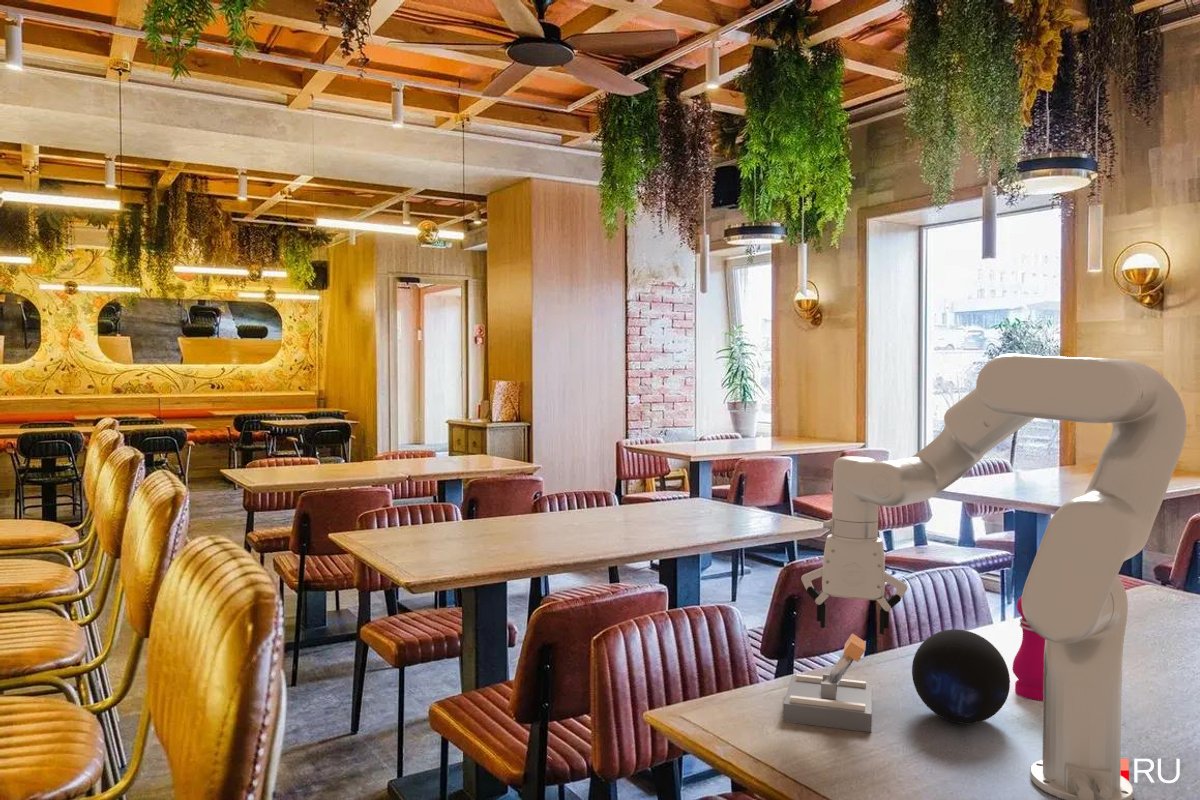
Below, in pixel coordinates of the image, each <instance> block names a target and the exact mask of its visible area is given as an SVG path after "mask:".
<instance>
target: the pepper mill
mask: <svg viewBox="0 0 1200 800" xmlns="http://www.w3.org/2000/svg"><path fill="white" fill-rule="evenodd" d="M1016 609H1017V612H1018V614H1019V615H1020V616H1021V617H1020V618H1019V622H1020V623H1019V627H1020V628H1021V629H1022V639H1021V643H1020V647H1019V648H1018V651H1017V652H1016V655H1015V656H1014V658H1013V662H1012V672H1013V675H1015V677H1016V678H1017V680H1016V681H1015V684H1014V685H1015V686H1014V691H1015V694H1017V695H1018V696H1019V697H1022V698H1025V699H1028V700H1033V701H1042V702H1043V678H1044V649H1045V639H1044V638H1042V637H1041V636H1039V635H1038V634H1037V633H1036V632H1035V631H1034V630H1033V629H1032V628H1031V627H1030V626H1029V624H1028V623H1027V621H1026V619H1025V617H1024V614H1023V610H1022V595H1021V596H1020V597H1019V598H1018V600H1017V603H1016Z"/></svg>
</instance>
